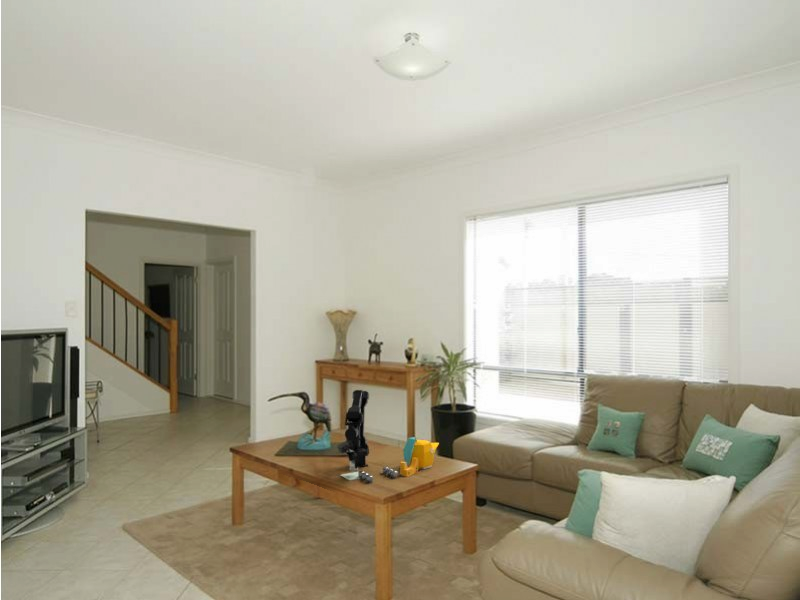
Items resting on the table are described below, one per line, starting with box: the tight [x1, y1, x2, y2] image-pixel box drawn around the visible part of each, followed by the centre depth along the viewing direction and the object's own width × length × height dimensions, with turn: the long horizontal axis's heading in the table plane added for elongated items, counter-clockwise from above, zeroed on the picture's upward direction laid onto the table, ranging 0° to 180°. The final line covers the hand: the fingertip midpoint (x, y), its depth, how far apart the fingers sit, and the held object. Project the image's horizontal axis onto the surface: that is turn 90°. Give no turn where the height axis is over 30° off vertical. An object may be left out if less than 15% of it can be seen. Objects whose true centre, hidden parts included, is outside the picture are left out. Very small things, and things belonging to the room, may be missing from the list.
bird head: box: [402, 436, 440, 470], centre depth 299 cm, size 14×26×16 cm, turn 135°
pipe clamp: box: [399, 457, 419, 477], centre depth 284 cm, size 12×4×6 cm, turn 142°
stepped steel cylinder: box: [349, 460, 359, 472], centre depth 278 cm, size 4×4×4 cm
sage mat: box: [340, 471, 361, 482], centre depth 278 cm, size 10×10×1 cm
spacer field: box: [357, 466, 398, 484], centre depth 276 cm, size 11×17×3 cm, turn 122°
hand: (354, 467), depth 278 cm, fingers closed on stepped steel cylinder, 4 cm apart
